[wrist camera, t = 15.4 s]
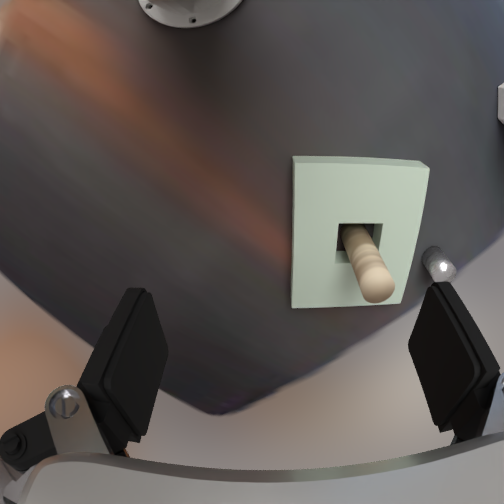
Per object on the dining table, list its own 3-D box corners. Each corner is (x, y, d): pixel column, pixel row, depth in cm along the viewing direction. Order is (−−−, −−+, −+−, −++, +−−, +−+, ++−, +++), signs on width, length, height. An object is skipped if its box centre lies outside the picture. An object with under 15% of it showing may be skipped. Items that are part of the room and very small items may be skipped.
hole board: (292, 156, 35) (294, 163, 33) (419, 160, 34) (429, 168, 32) (290, 294, 46) (291, 308, 43) (394, 290, 45) (400, 303, 42)
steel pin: (424, 245, 40) (438, 265, 36) (444, 245, 40) (459, 264, 36) (419, 266, 42) (432, 287, 38) (438, 265, 42) (452, 285, 38)
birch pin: (341, 220, 39) (365, 276, 29) (367, 220, 39) (398, 274, 29) (338, 244, 41) (359, 304, 31) (363, 243, 41) (390, 302, 31)
